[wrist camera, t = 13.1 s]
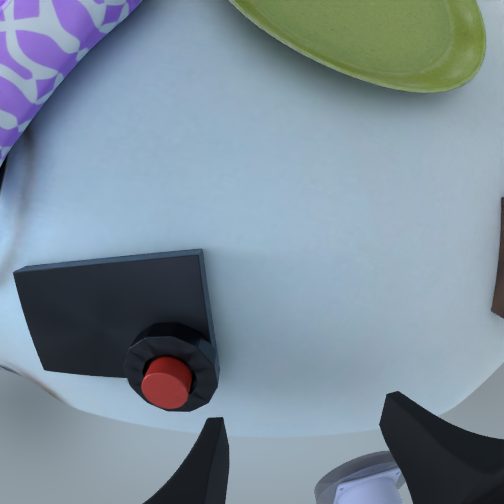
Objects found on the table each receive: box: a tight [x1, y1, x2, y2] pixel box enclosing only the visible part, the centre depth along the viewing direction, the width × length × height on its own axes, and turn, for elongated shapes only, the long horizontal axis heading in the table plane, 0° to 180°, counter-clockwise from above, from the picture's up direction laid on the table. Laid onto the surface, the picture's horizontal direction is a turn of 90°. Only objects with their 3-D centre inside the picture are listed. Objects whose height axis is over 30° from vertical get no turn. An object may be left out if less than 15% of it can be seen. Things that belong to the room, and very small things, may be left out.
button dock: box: [13, 249, 220, 412], centre depth 17 cm, size 14×9×4 cm, turn 95°
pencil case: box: [0, 0, 142, 167], centre depth 10 cm, size 22×9×10 cm, turn 135°
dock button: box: [142, 356, 192, 409], centre depth 15 cm, size 3×3×2 cm
